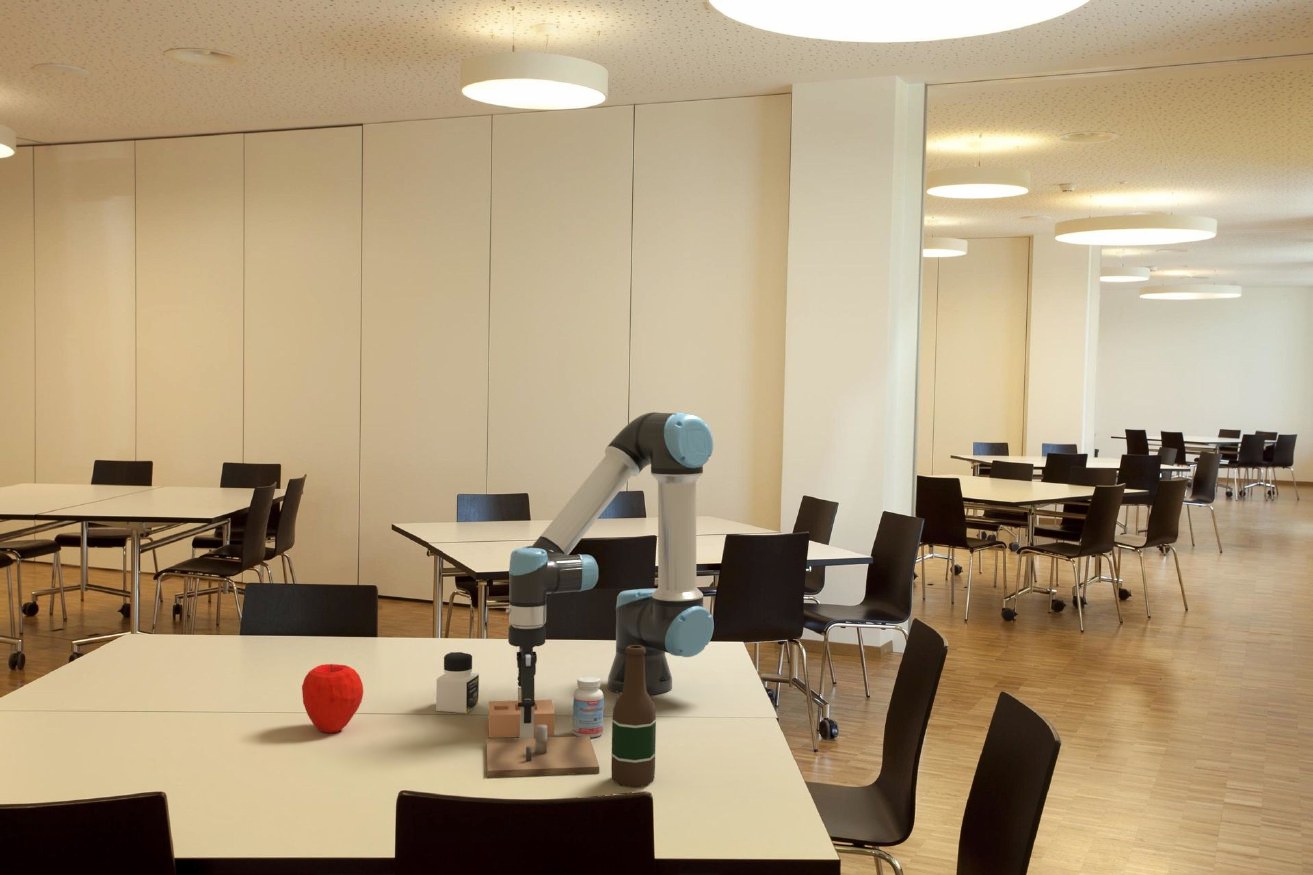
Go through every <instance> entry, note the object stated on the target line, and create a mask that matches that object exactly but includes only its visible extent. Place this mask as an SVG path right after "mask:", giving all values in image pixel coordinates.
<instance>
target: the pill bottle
mask: <svg viewBox="0 0 1313 875" xmlns="http://www.w3.org/2000/svg"><path fill="white" fill-rule="evenodd" d="M576 681H577V684H576V685H577V689H576V690H575V691H574V692H573V700H572V701H573V707H572V709H573V711H572V712H573V713H572V734H574V736H575V737H581V736H589V737H590V739H591V738H597V737H600V736H602V734H603V731H604V730H603V729H604V726H603V725H604V693H603V691H602V689H600V687H601V678H599V677H597V676H589V675H588V676H581V677H578V678H577V680H576Z"/></svg>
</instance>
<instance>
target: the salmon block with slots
mask: <svg viewBox="0 0 1313 875" xmlns="http://www.w3.org/2000/svg"><path fill="white" fill-rule="evenodd" d="M520 702H521V701H518V700H497V701H496V700H494V701H493V700H491V701H488V738H491V739H492V738H493V739H495V738H516V737H517V738H518V737H519V738H520V707H518V703H520ZM555 716H556V713H555V709H554V704H553V700H552V699H536V700H535V705H534V737H535V730H536V725H541V724H543V725H547V737H553V736H554V737H555V735H556V734H555V730H556V728H555V727H556V726H555V724H556V722H555V721H556V717H555Z"/></svg>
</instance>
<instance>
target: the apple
mask: <svg viewBox="0 0 1313 875" xmlns="http://www.w3.org/2000/svg"><path fill="white" fill-rule="evenodd" d="M301 693H302V701H303V706H304V709H305V712H306V714H307V716H308V718H309V720H310V721H311V723H312V725H313V726H314V727H315V728H316V729H317V730H318V731H320V732H322V733H329V734H333V733H338V732H339V731H340V732H341V731H342V730H343V729H344V728H345V727H346V726H347V725H348V724H349V723H350V721H351V720H352V718H353V717H354V715H355V714H356V712H358V710H359V707H360V705H361V704H362V701H363V696H364V684H363V681H362V679H361V676H360V674H359V672H357V671H356V669H354V668H353V667H350V666H349V665H346V664H345V665H344V664H337V663H329V664H328V663H327V664H319V665H317V666H315V667H314V668H312V669H311V670H309V671H308V673H307V674H306V676H305V677H304V678H303V682H302V685H301Z"/></svg>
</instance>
